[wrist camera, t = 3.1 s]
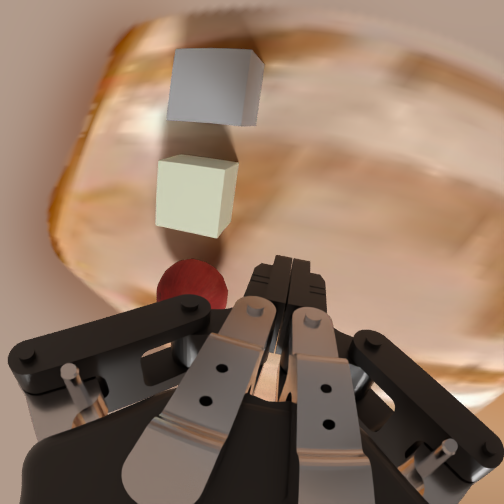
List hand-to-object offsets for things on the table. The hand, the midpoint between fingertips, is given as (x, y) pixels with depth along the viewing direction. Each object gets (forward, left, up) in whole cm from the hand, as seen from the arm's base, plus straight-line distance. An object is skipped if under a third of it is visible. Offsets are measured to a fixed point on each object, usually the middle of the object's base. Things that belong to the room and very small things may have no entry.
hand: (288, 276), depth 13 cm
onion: (+10, -3, -12) cm, 16 cm away
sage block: (+3, -7, -12) cm, 14 cm away
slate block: (-5, -10, -12) cm, 16 cm away
